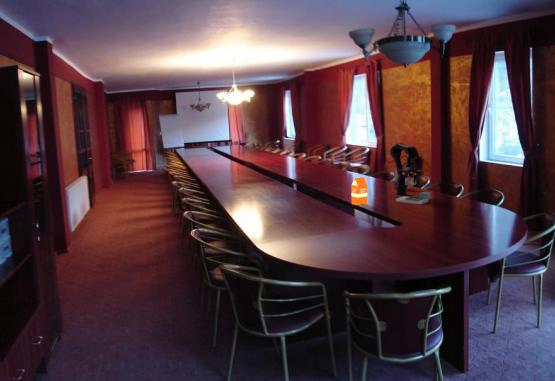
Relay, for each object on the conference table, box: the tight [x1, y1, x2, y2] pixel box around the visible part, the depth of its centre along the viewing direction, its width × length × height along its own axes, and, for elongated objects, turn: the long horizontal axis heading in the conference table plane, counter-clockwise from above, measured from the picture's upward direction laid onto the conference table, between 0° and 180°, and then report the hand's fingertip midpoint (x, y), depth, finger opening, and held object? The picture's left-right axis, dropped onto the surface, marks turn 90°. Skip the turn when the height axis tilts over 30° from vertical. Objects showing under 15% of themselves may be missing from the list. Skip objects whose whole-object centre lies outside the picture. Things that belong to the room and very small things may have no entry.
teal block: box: [418, 191, 432, 201], centre depth 364 cm, size 6×6×5 cm
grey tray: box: [395, 195, 429, 205], centre depth 357 cm, size 20×12×3 cm, turn 47°
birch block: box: [405, 177, 417, 186], centre depth 370 cm, size 6×6×5 cm
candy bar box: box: [394, 169, 410, 190], centre depth 408 cm, size 11×5×16 cm, turn 62°
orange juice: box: [350, 176, 368, 206], centre depth 354 cm, size 8×9×20 cm
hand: (410, 183), depth 370 cm, fingers closed on birch block, 6 cm apart
